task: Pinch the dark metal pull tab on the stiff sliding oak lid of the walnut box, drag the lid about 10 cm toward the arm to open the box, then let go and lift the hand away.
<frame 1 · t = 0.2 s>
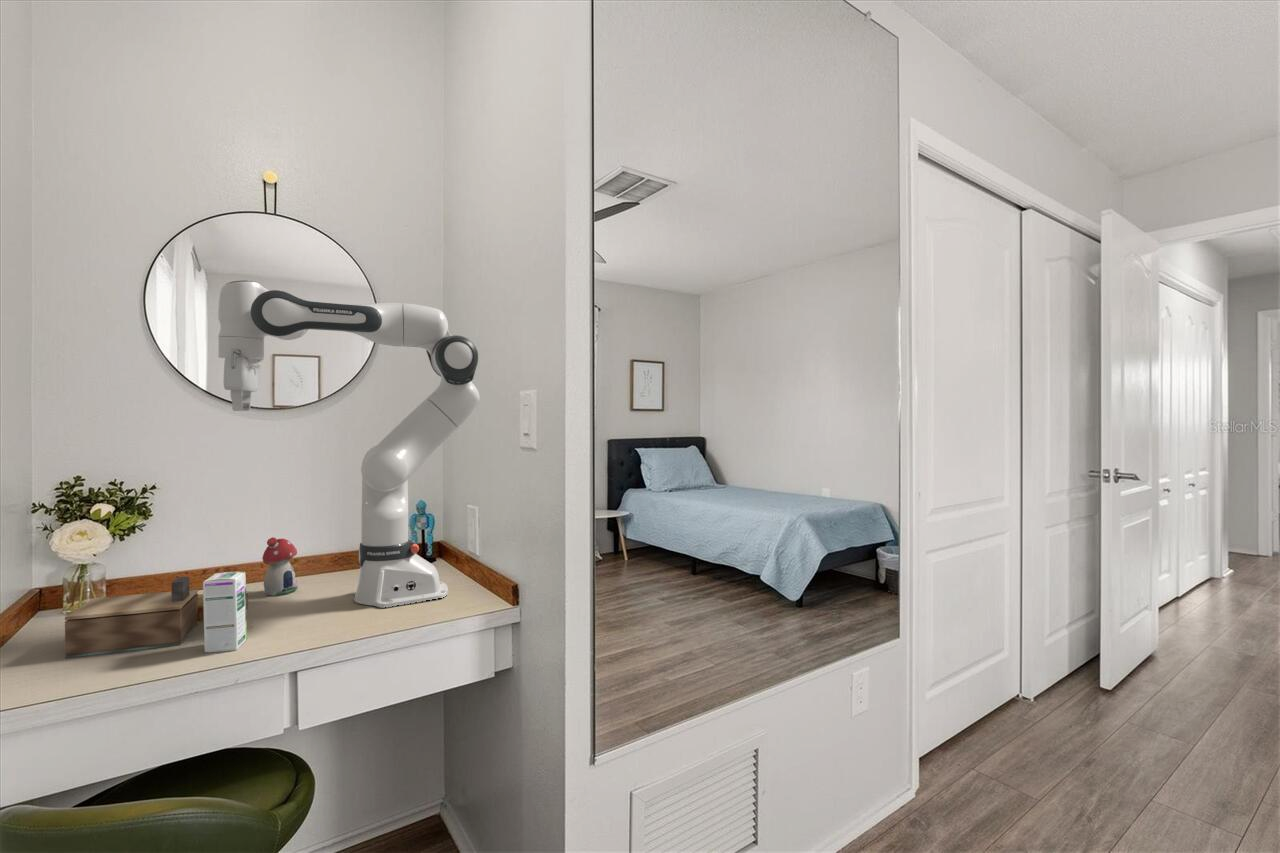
hand: (241, 410, 139), 47 cm above the table, tool pointing down, fingers open, 8 cm apart
walnut box: (136, 640, 123), on the table
carton: (201, 617, 138), on the table
lid: (136, 594, 123), point 10 cm above the table, slide at 0.0 cm
syrup box: (225, 647, 121), on the table
decorative ornament: (280, 593, 155), on the table
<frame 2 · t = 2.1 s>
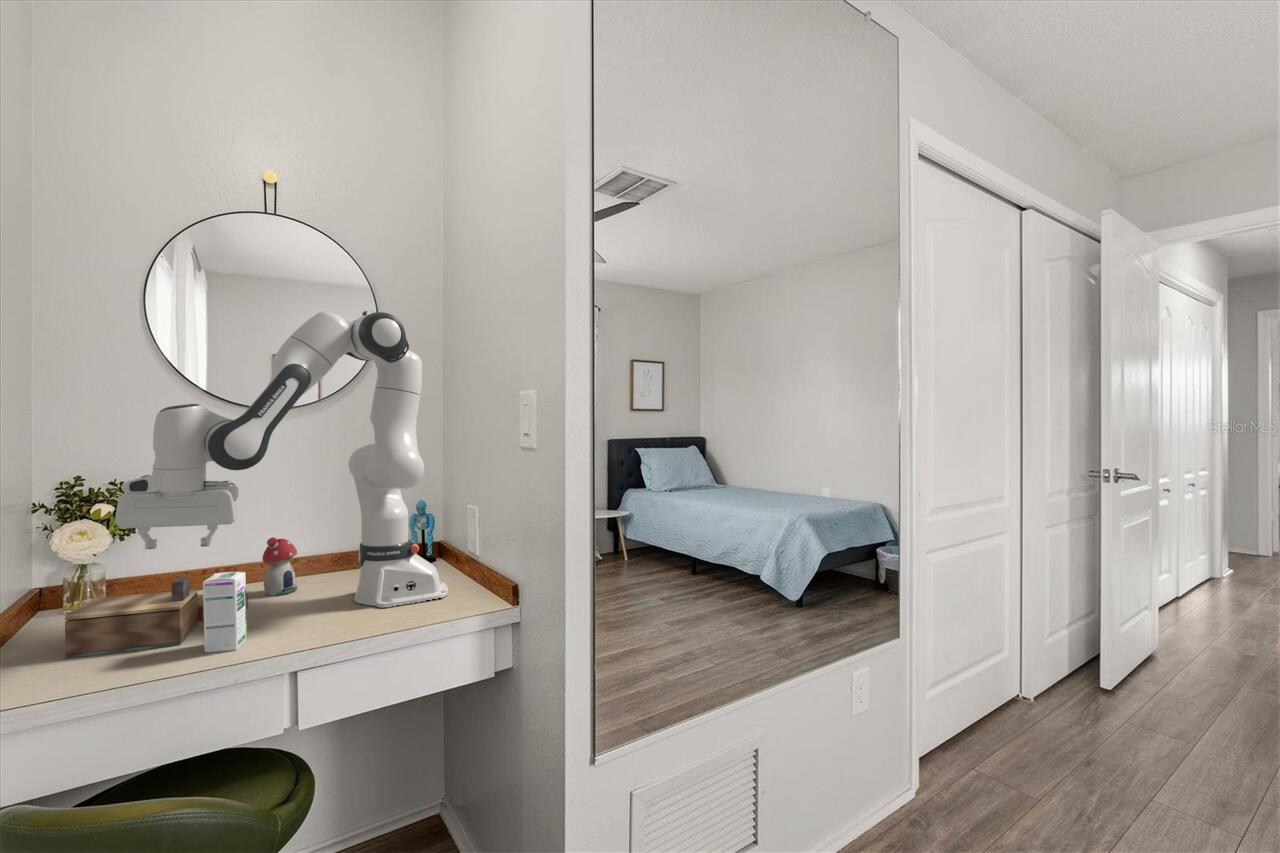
hand: (178, 547, 125), 19 cm above the table, tool pointing down, fingers open, 8 cm apart
nothing on the table moved.
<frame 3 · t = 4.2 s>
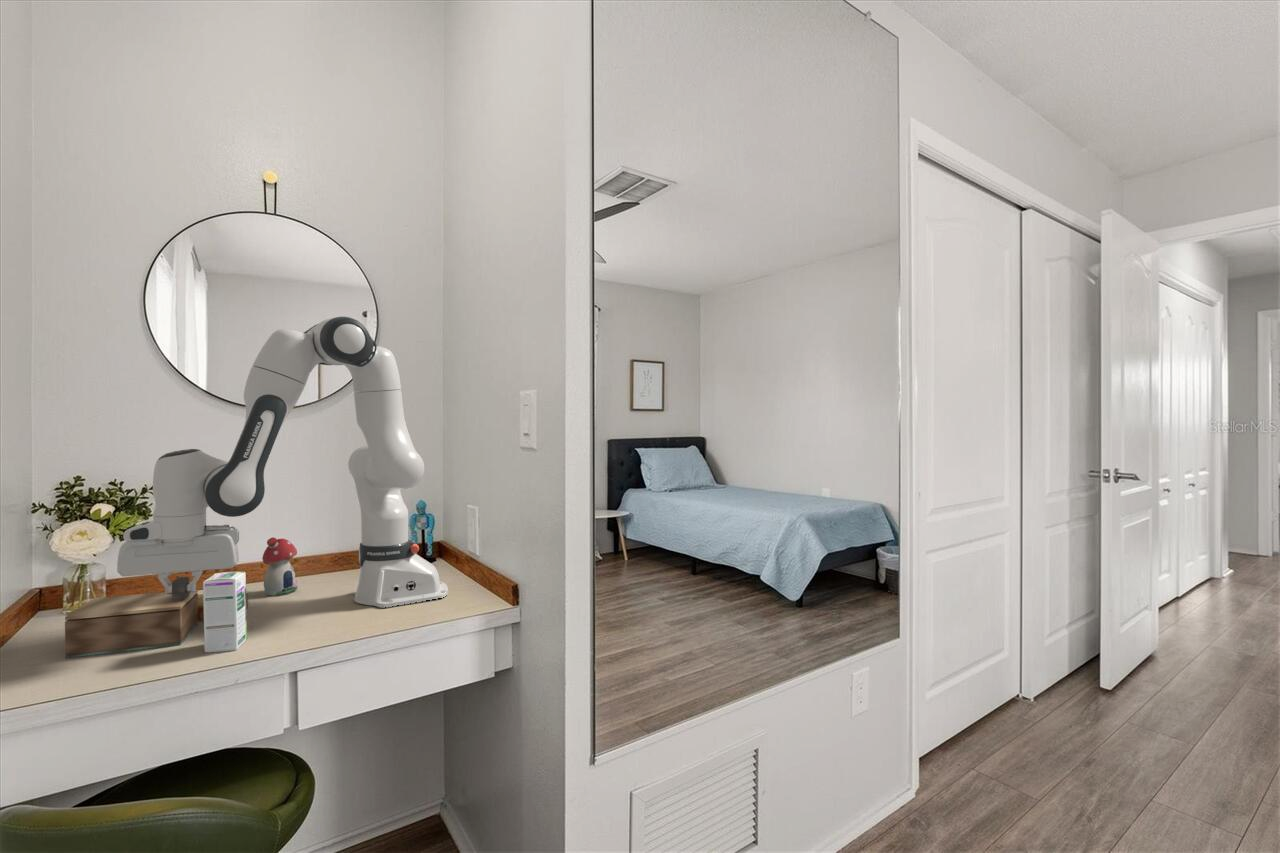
hand: (180, 592, 126), 9 cm above the table, tool pointing down, fingers closed on lid, 2 cm apart
lid: (136, 593, 123), point 10 cm above the table, slide at 0.0 cm, touching gripper
everything else where it was.
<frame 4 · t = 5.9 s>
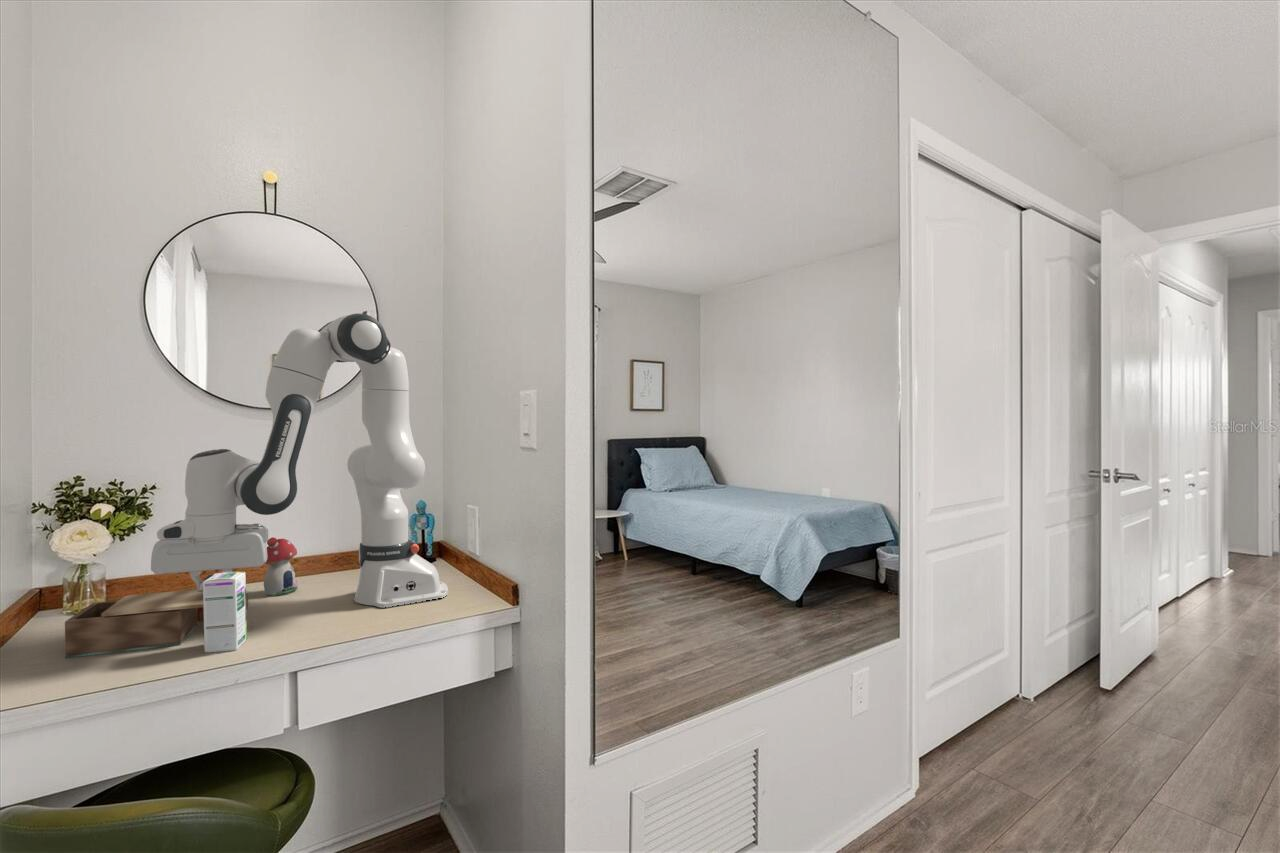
hand: (211, 590, 128), 9 cm above the table, tool pointing down, fingers closed on lid, 2 cm apart
lid: (168, 591, 125), point 10 cm above the table, slide at 5.5 cm, touching gripper
everything else where it was.
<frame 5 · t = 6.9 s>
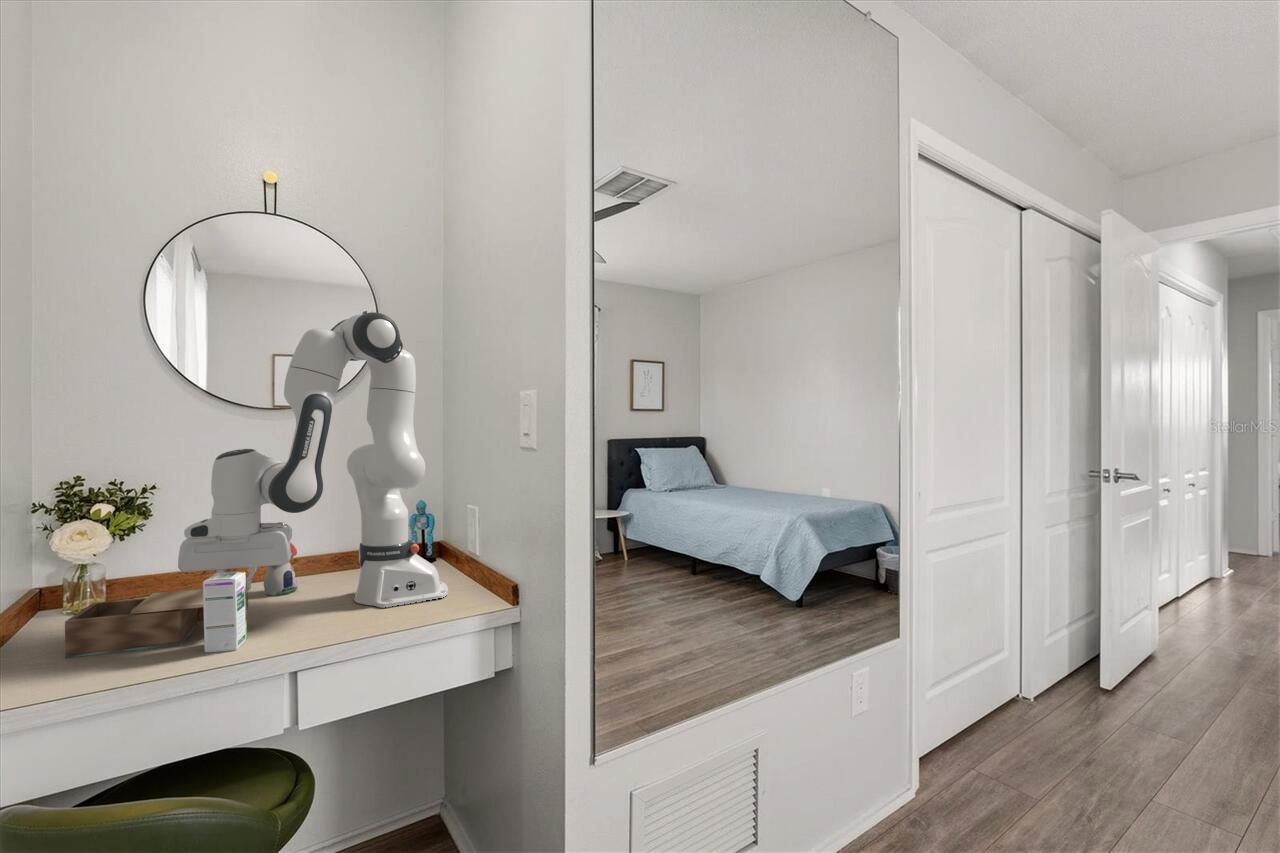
hand: (237, 588, 130), 9 cm above the table, tool pointing down, fingers closed on lid, 2 cm apart
lid: (195, 589, 127), point 10 cm above the table, slide at 10.0 cm, touching gripper
everything else where it was.
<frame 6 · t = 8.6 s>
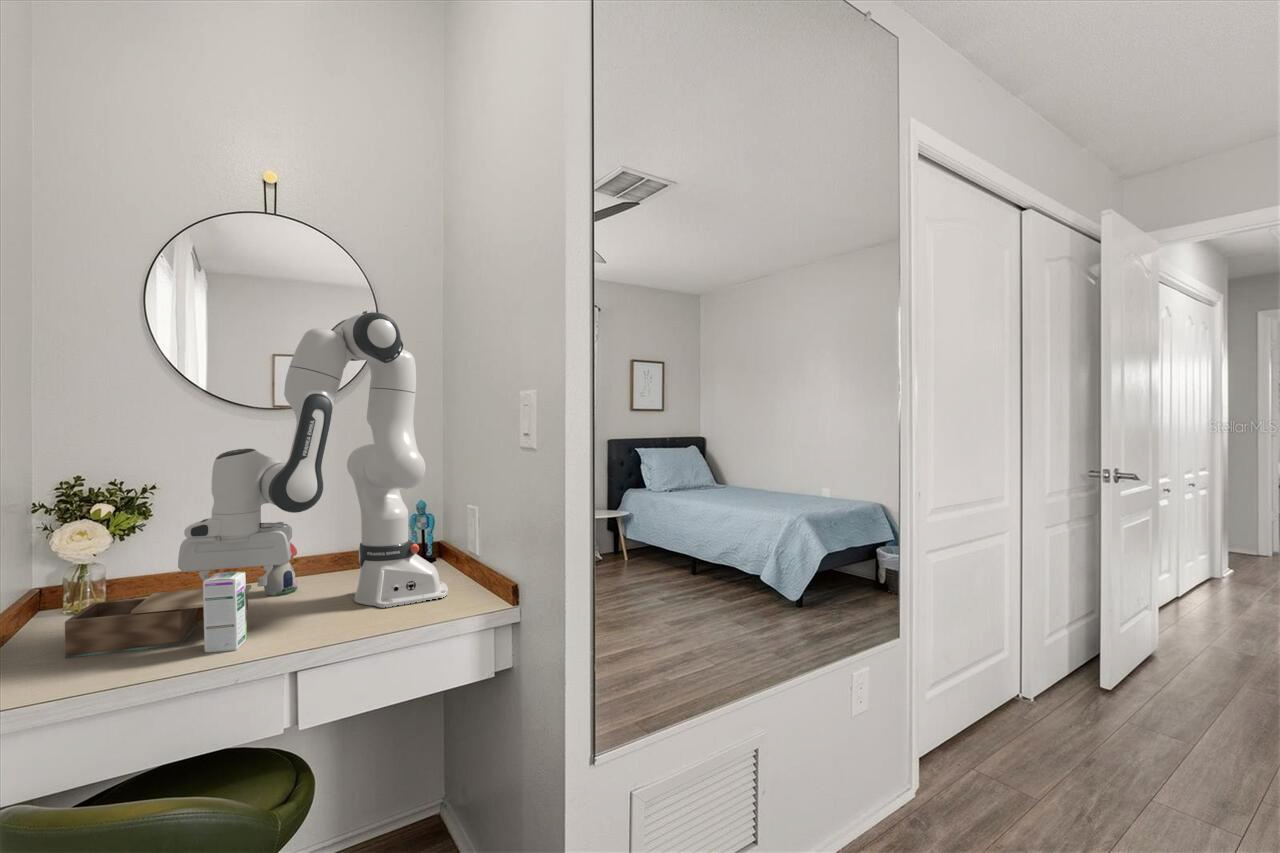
hand: (237, 587, 130), 9 cm above the table, tool pointing down, fingers open, 8 cm apart
lid: (195, 588, 127), point 10 cm above the table, slide at 10.1 cm
everything else where it was.
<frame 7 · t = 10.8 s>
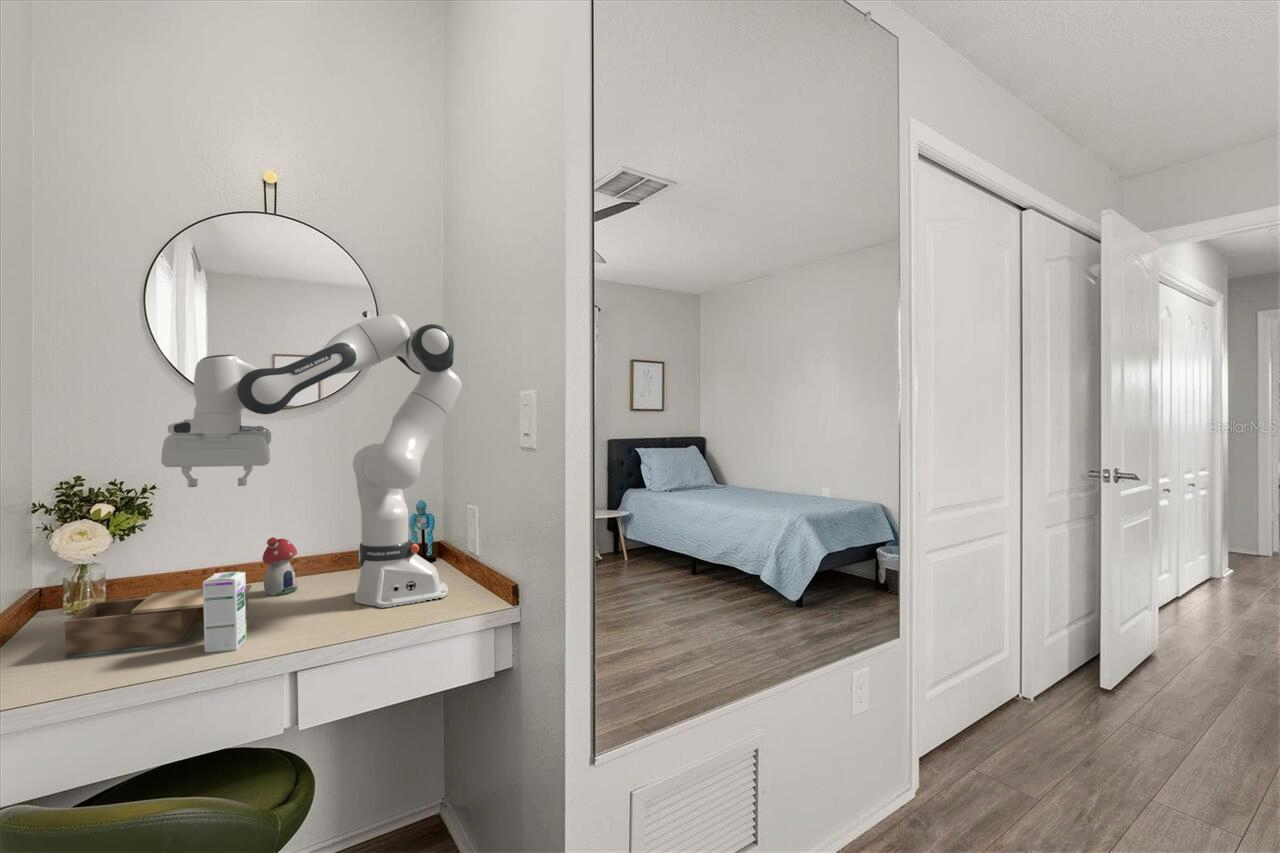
hand: (217, 486, 137), 30 cm above the table, tool pointing down, fingers open, 8 cm apart
nothing on the table moved.
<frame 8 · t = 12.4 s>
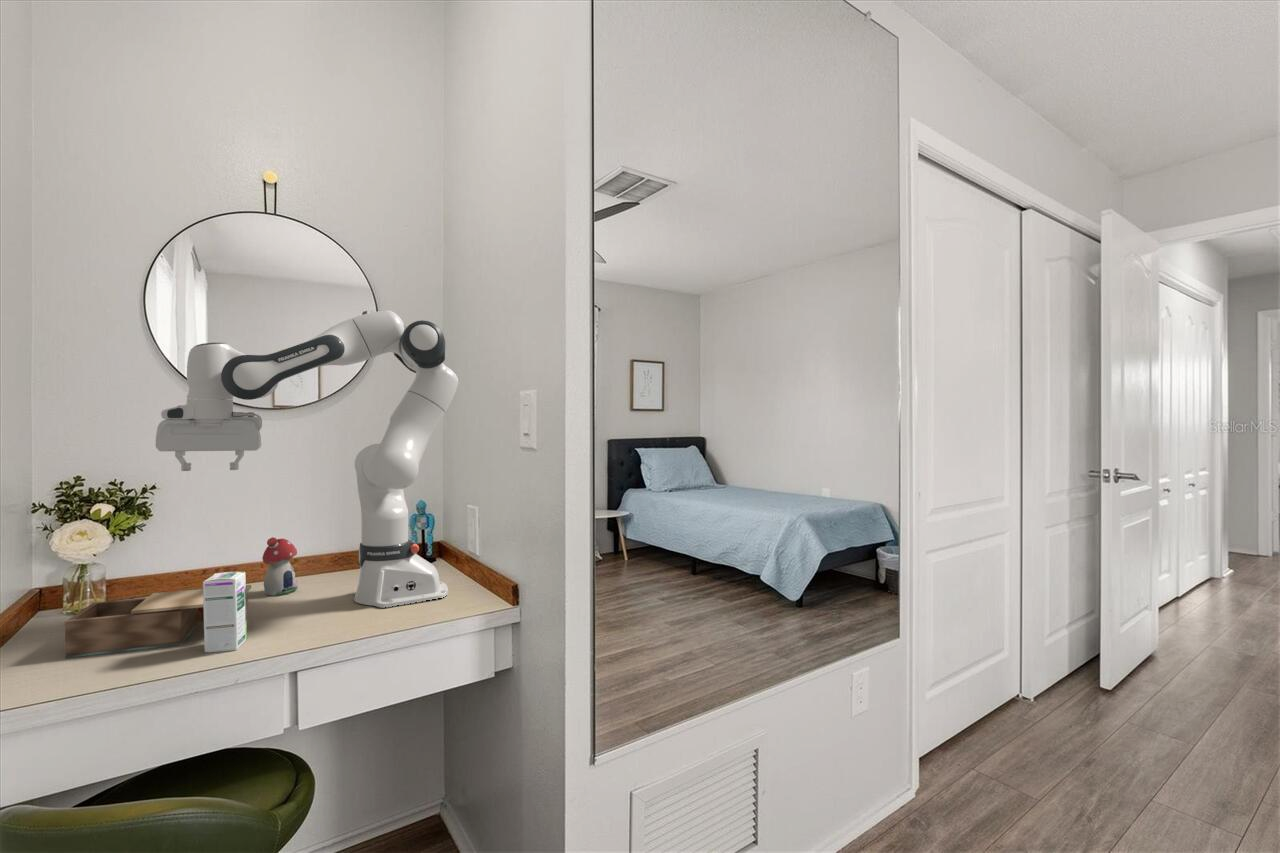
hand: (210, 470, 141), 33 cm above the table, tool pointing down, fingers open, 8 cm apart
nothing on the table moved.
at the end: lid slide at 10.1 cm; the gripper is holding nothing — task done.
